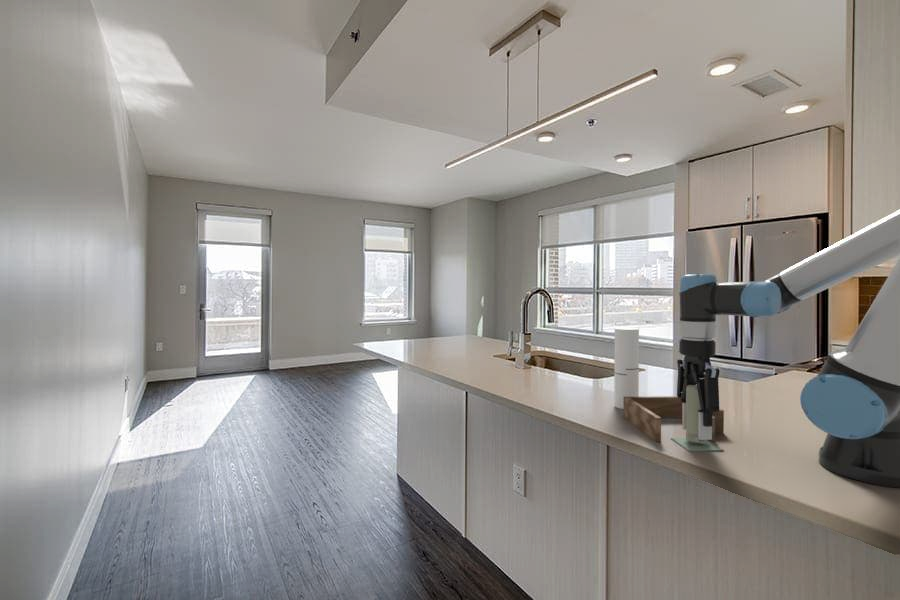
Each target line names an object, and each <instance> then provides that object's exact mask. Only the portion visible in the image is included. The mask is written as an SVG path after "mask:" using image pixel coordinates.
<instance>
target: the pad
mask: <svg viewBox="0 0 900 600" xmlns="http://www.w3.org/2000/svg"><path fill="white" fill-rule="evenodd" d="M670 439H671V440H672V441H673V442H675V443H676V444H677V445H679V446H681V447H682V448H683V449H685V450H686V451H688V452H724V449H723V448H721V447H720V446H718V445H716V444H715V443H714V442H710V441H708V440H707V443H706V444H703V443H696V442H690V441H686V437H670Z"/></svg>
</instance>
